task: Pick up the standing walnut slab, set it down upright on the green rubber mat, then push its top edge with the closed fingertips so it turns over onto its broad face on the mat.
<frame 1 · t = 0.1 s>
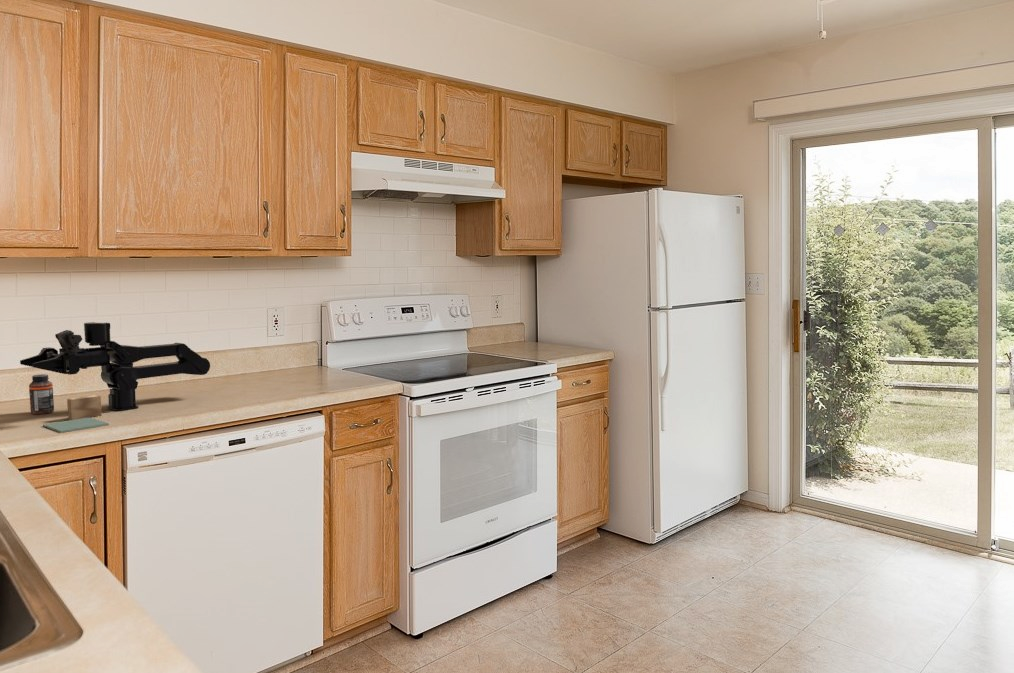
hand: (26, 363, 203), 17 cm above the worktop, tool horizontal, fingers open, 9 cm apart
supplement bottle: (42, 413, 217), on the worktop
slab: (85, 418, 211), on the worktop
mat: (76, 425, 201), on the worktop
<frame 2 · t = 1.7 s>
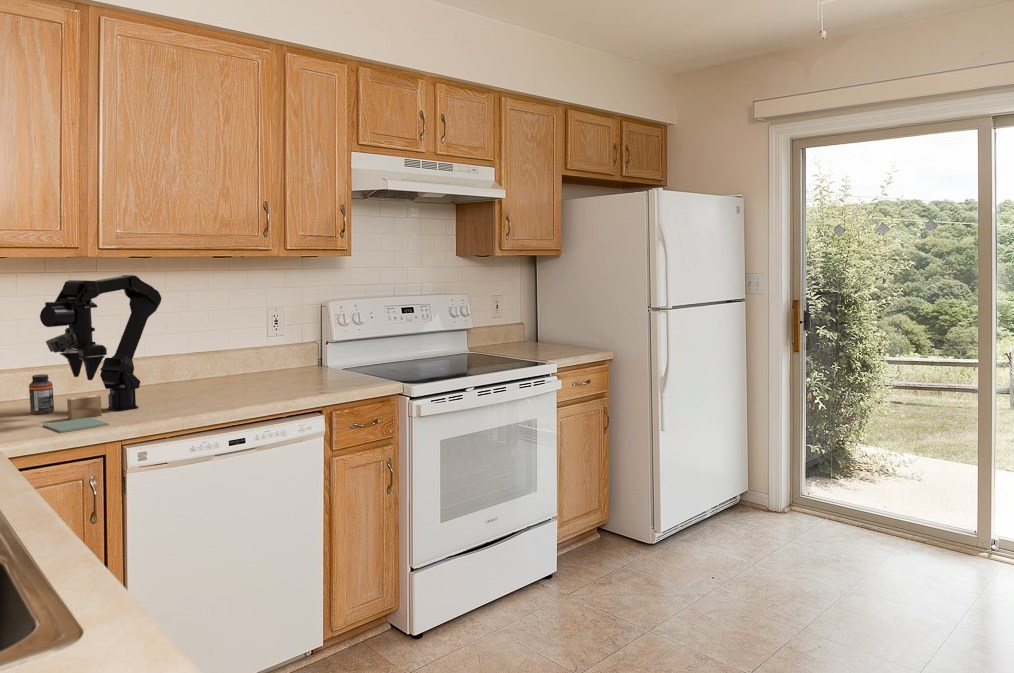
hand: (83, 378, 210), 11 cm above the worktop, tool pointing down, fingers open, 9 cm apart
nothing on the worktop moved.
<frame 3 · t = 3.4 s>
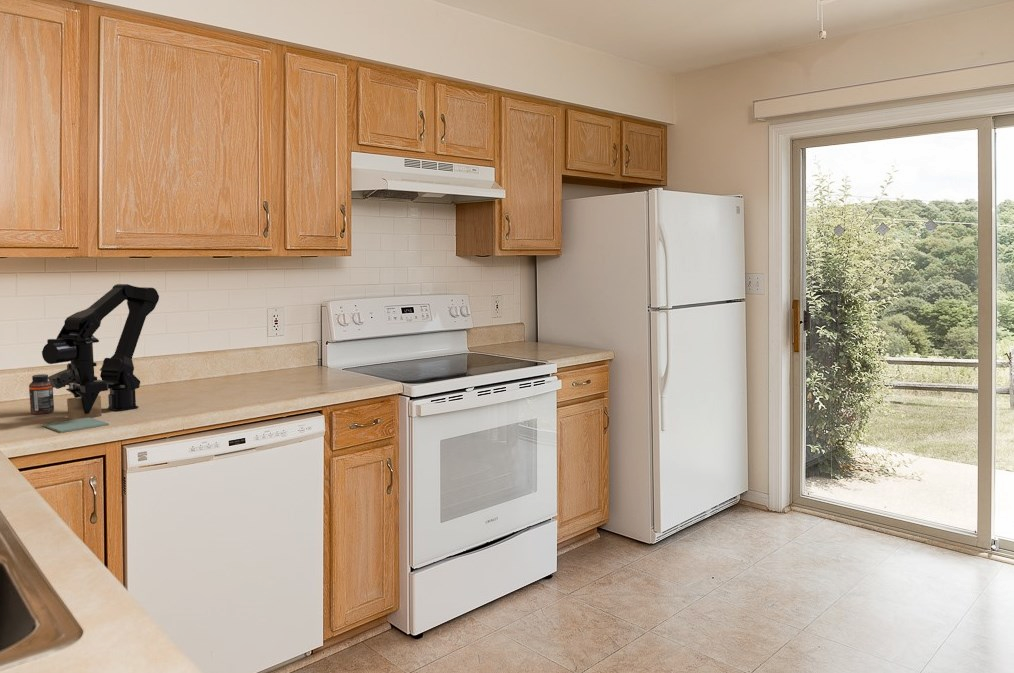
hand: (84, 413, 211), 1 cm above the worktop, tool pointing down, fingers closed on slab, 2 cm apart
slab: (85, 417, 211), on the worktop, touching gripper
everything else where it was.
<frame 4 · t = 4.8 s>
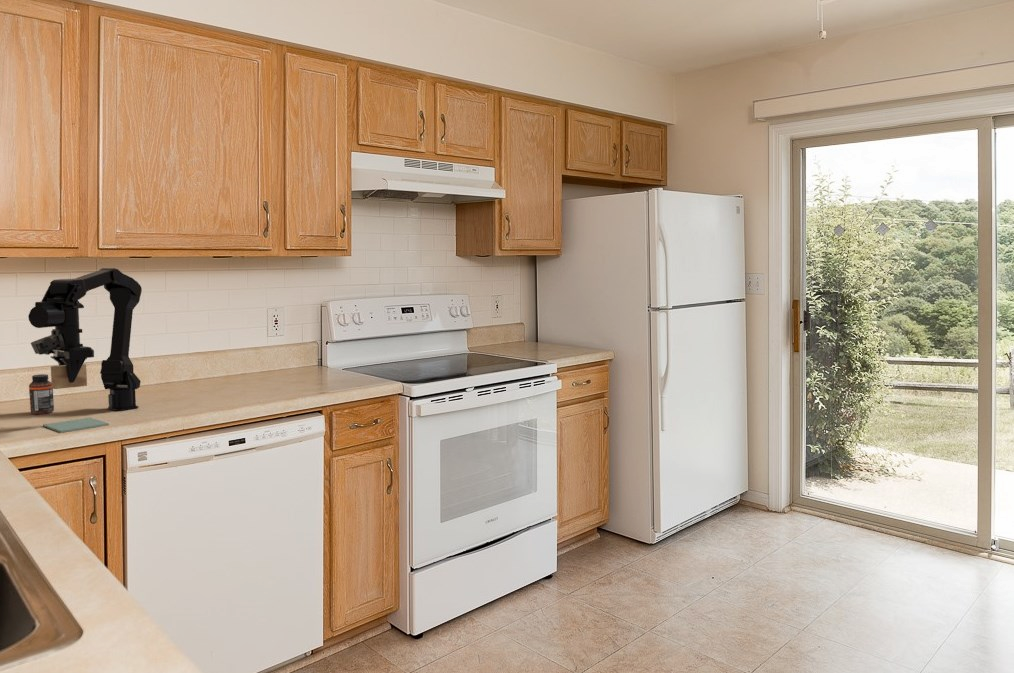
hand: (69, 381, 201), 12 cm above the worktop, tool pointing down, fingers closed on slab, 2 cm apart
slab: (69, 386, 201), point 10 cm above the worktop, touching gripper
everything else where it was.
when the fingers open (3 cm above the worktop, at t = 6.6 s): slab stays where it is, resting on mat.
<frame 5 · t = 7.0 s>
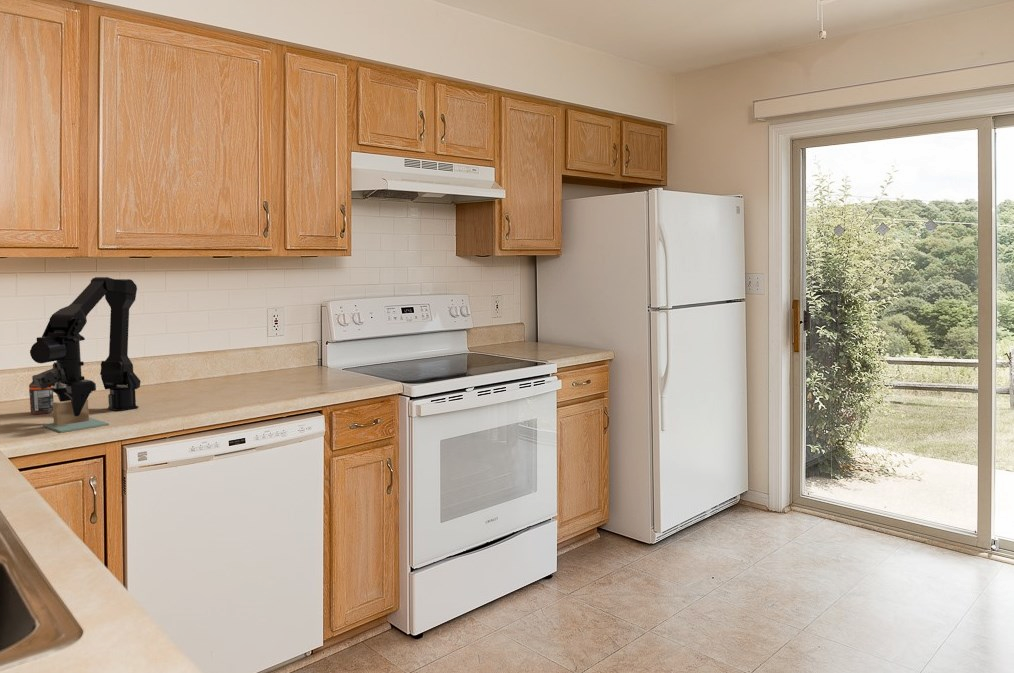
hand: (71, 414, 202), 3 cm above the worktop, tool pointing down, fingers open, 6 cm apart
slab: (71, 422, 202), resting on mat
everything else where it was.
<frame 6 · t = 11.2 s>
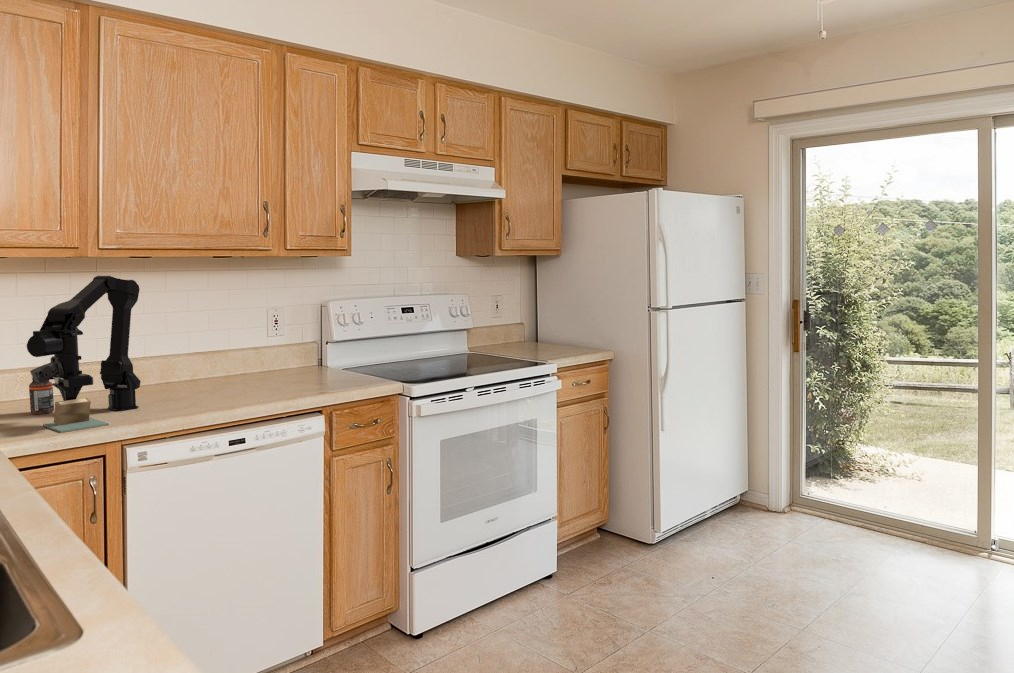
hand: (69, 408, 202), 4 cm above the worktop, tool pointing down, fingers closed
slab: (71, 421, 202), point 1 cm above the worktop, tilted 17°, touching mat
everything else where it was.
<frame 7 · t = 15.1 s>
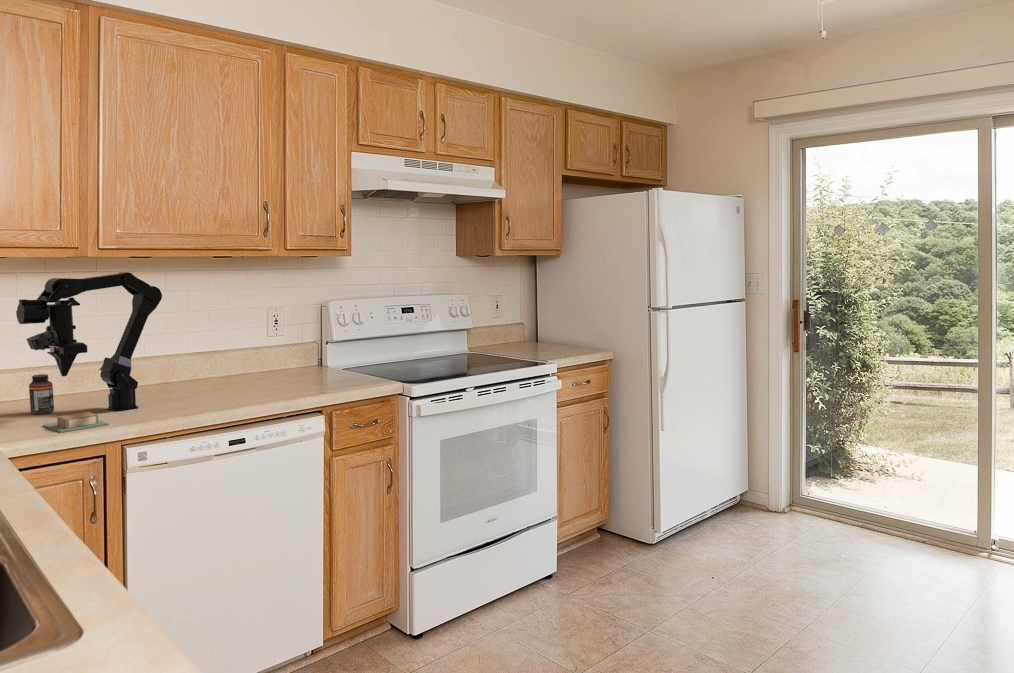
hand: (64, 376, 210), 12 cm above the worktop, tool pointing down, fingers closed
slab: (73, 418, 201), point 2 cm above the worktop, tilted 90°, touching mat
everything else where it was.
at the end: slab tilted 90°; slab inside the target area (1.3 cm from its centre), point 1.7 cm above the worktop; the gripper is holding nothing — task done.
